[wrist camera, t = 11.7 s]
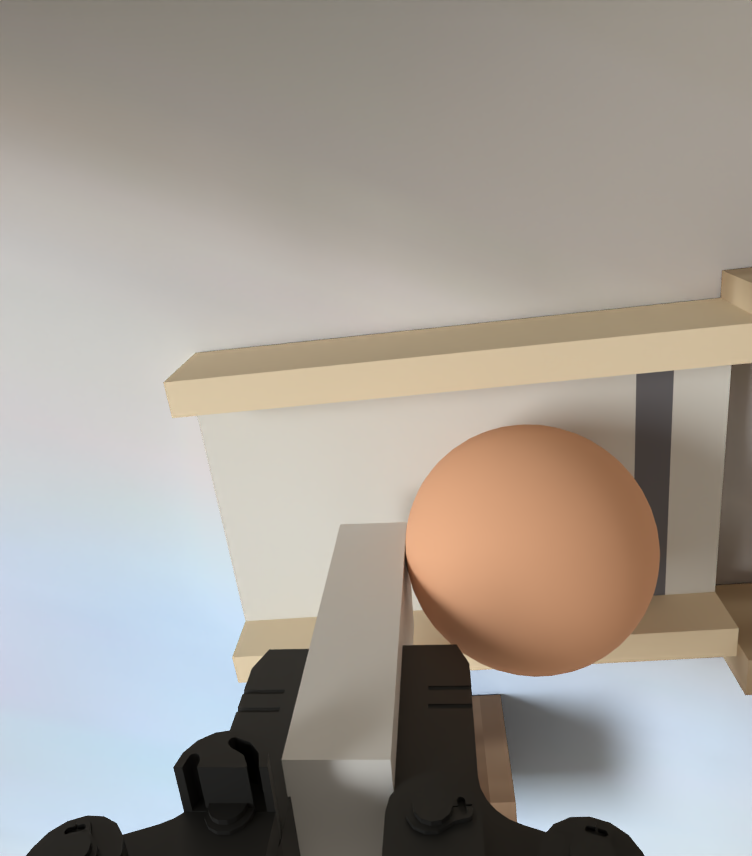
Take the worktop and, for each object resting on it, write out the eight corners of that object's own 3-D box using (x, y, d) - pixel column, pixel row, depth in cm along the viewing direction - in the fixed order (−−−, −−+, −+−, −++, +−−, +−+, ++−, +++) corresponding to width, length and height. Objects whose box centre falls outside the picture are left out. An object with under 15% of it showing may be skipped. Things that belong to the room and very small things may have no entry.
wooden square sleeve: (389, 700, 20) (383, 806, 17) (500, 694, 20) (515, 802, 17) (401, 780, 21) (397, 893, 18) (506, 776, 21) (521, 891, 18)
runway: (195, 352, 16) (163, 382, 14) (720, 297, 15) (766, 322, 13) (257, 626, 19) (238, 682, 17) (701, 598, 18) (736, 656, 16)
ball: (331, 491, 13) (602, 540, 10) (457, 378, 16) (685, 390, 13) (386, 686, 15) (622, 773, 12) (487, 549, 18) (689, 591, 15)
